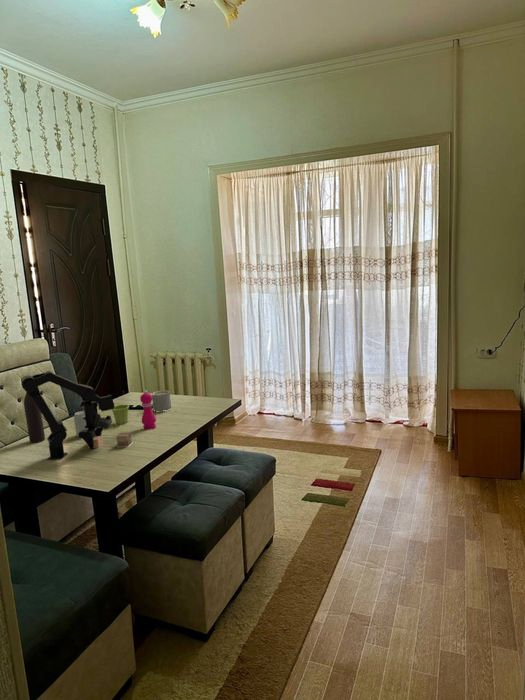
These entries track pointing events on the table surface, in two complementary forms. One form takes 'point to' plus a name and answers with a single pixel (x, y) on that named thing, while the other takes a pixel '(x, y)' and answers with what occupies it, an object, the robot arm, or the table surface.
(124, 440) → the walnut base block
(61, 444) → the robot arm
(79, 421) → the can
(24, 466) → the table surface
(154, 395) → the coffee mug
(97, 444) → the terracotta block
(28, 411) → the wine bottle
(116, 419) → the plant pot
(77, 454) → the table surface
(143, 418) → the pepper mill
